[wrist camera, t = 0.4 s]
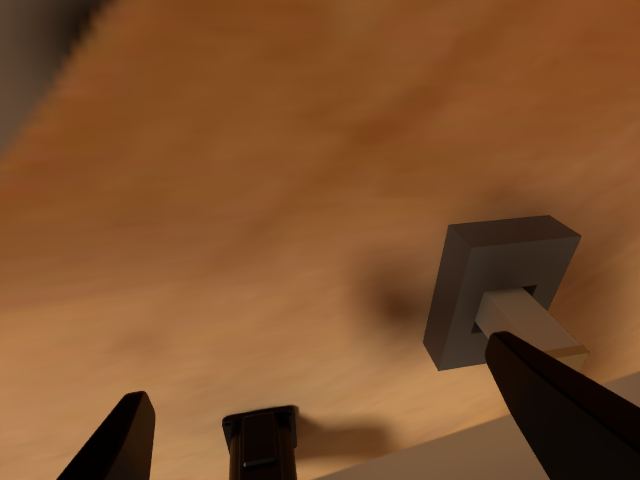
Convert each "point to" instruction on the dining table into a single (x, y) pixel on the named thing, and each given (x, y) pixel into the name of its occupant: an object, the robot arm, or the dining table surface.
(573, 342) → the plug
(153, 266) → the dining table surface
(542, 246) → the block
